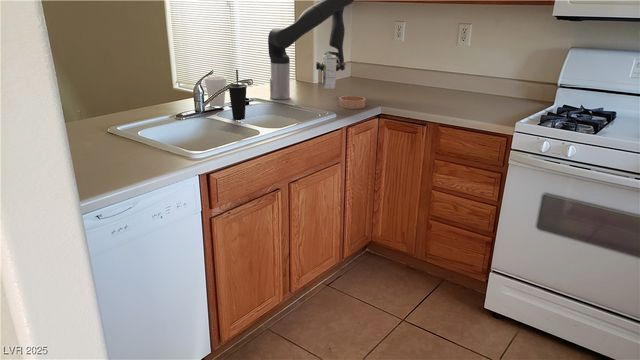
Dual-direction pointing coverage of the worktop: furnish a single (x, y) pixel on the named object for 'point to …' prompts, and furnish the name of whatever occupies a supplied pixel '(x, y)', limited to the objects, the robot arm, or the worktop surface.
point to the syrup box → (329, 71)
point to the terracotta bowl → (352, 102)
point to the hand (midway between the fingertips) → (329, 68)
